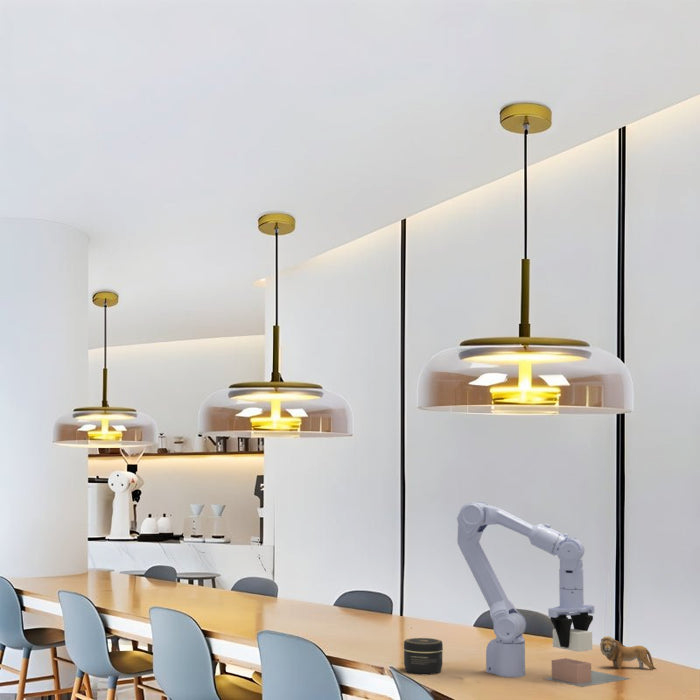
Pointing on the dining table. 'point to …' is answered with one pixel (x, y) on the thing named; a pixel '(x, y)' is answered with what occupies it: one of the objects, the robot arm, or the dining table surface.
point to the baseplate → (594, 679)
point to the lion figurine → (624, 653)
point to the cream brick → (575, 640)
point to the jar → (423, 655)
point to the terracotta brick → (571, 670)
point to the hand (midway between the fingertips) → (572, 646)
